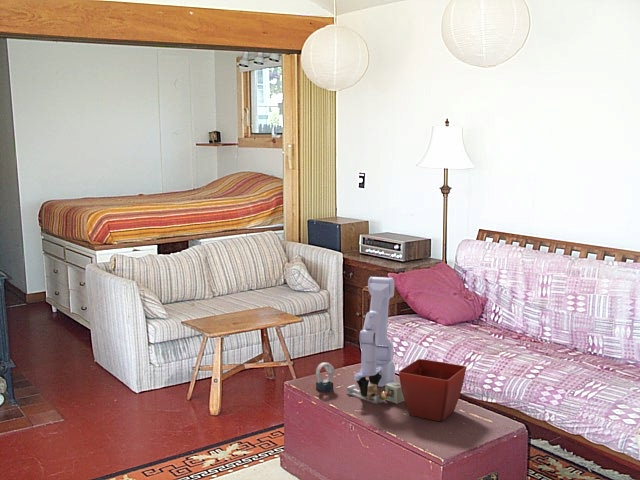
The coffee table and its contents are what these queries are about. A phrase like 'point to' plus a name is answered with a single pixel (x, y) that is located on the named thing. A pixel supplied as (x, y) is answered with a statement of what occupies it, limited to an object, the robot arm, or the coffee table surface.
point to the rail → (354, 392)
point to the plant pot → (431, 388)
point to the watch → (324, 384)
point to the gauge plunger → (385, 394)
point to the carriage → (370, 390)
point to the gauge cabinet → (397, 395)
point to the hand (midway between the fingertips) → (368, 394)
